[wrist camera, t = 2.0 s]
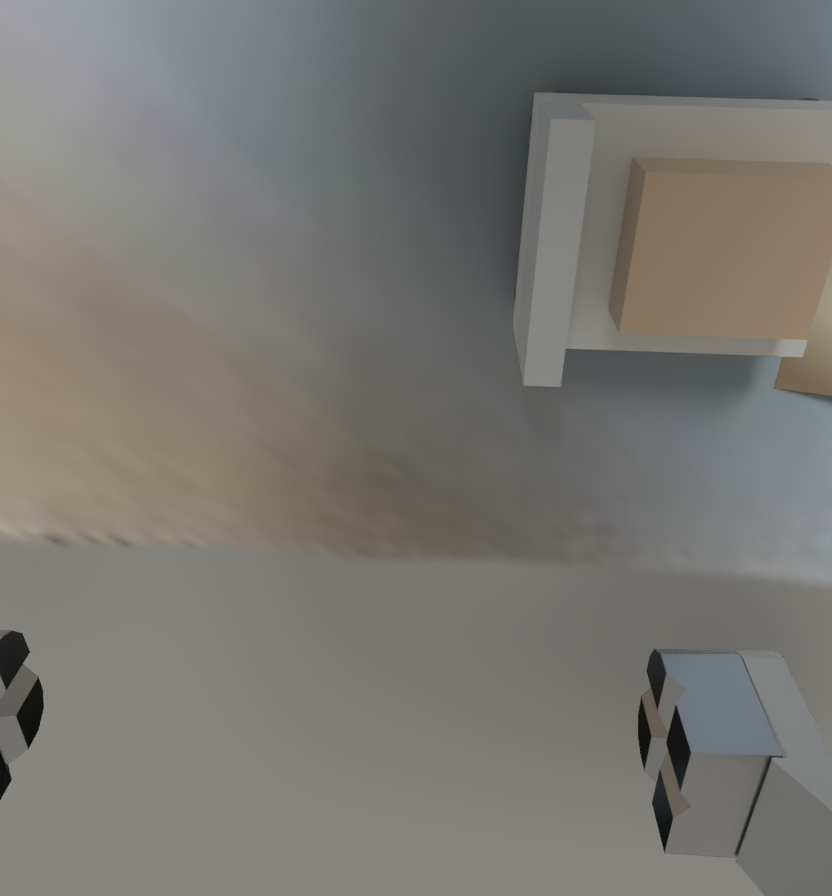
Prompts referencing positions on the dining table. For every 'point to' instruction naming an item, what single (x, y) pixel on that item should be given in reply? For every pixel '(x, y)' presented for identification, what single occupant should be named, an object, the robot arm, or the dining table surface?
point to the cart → (672, 227)
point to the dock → (813, 353)
